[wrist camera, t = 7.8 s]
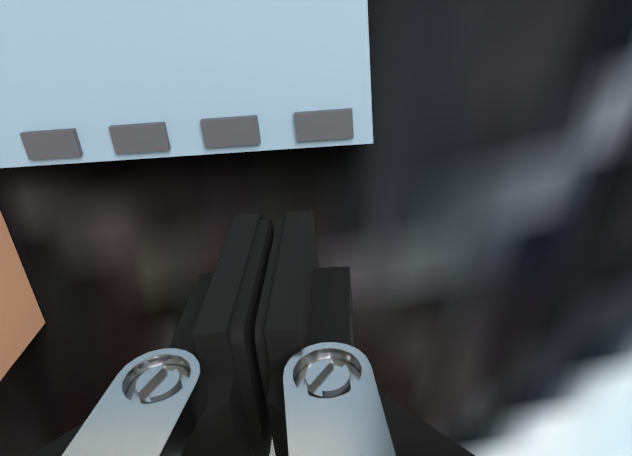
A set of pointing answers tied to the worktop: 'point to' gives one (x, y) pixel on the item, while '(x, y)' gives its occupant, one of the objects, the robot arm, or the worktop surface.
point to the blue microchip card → (180, 78)
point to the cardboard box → (15, 304)
